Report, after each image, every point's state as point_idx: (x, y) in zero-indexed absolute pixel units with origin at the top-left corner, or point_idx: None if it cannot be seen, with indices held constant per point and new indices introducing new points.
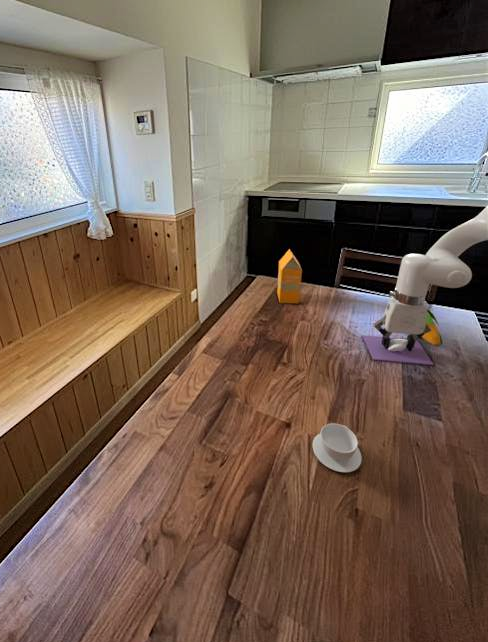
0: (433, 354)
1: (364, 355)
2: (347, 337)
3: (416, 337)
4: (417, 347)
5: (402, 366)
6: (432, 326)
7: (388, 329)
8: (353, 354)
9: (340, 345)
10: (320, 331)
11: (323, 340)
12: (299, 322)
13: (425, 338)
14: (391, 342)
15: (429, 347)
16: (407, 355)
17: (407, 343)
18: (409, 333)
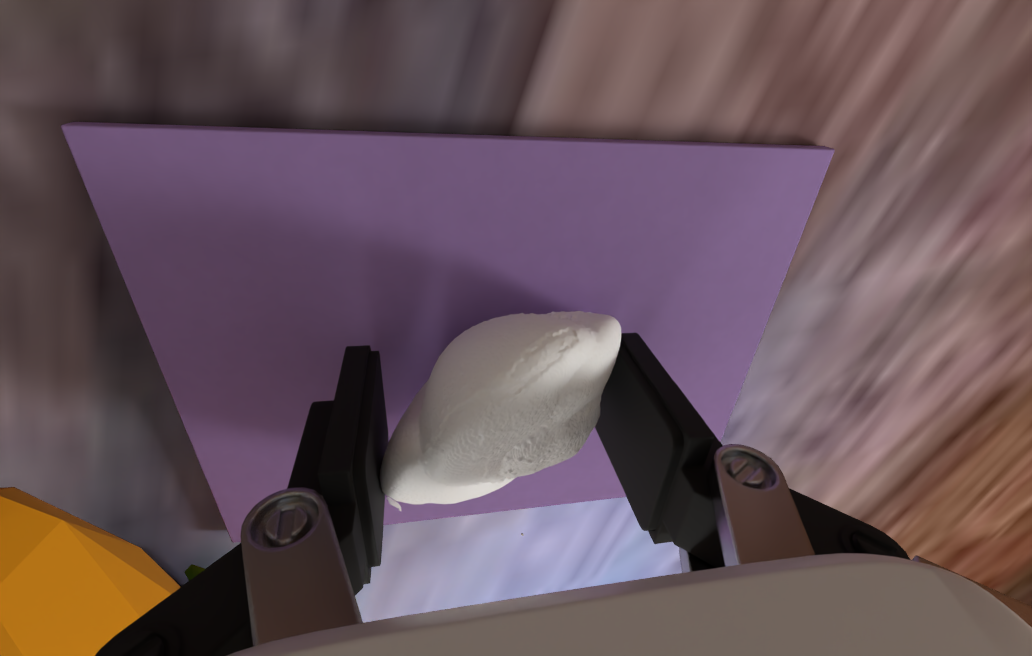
0: (66, 365)
1: (853, 221)
2: (821, 446)
3: (272, 552)
4: (249, 438)
5: (534, 42)
6: None
7: (1020, 627)
8: (945, 221)
9: (952, 337)
10: (958, 468)
11: (1026, 375)
12: (1009, 519)
13: (128, 574)
14: (595, 417)
15: (112, 469)
16: (402, 280)
17: (402, 432)
18: (487, 629)
